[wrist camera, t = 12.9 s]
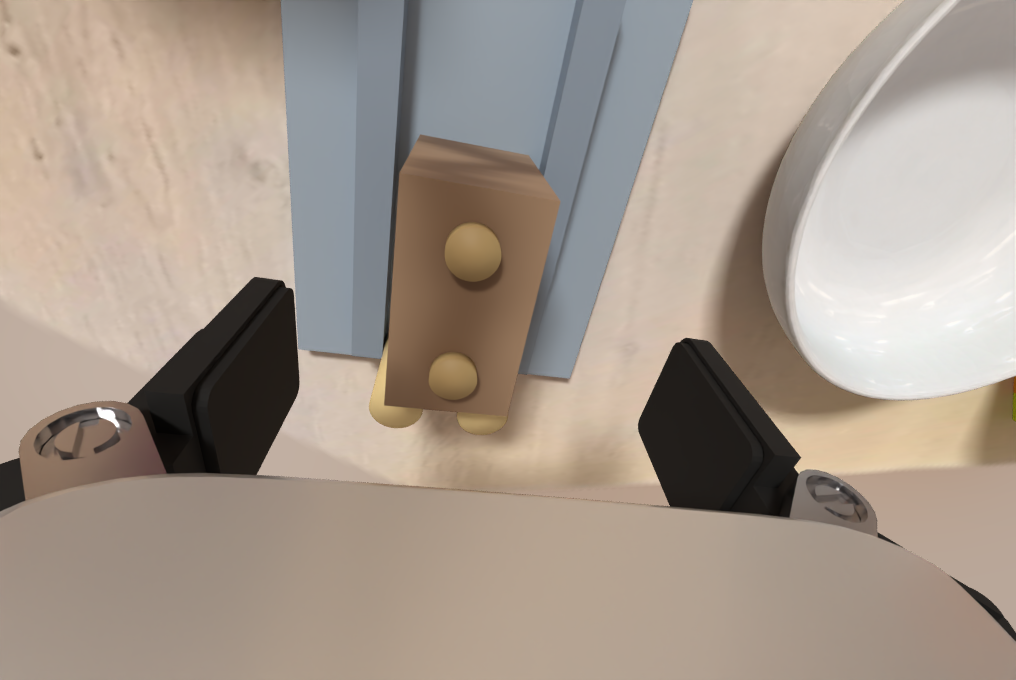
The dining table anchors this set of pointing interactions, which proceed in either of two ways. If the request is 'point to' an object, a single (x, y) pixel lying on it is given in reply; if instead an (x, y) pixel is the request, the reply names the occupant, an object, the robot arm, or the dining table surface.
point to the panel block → (464, 275)
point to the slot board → (468, 119)
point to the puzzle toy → (1014, 400)
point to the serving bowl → (904, 209)
